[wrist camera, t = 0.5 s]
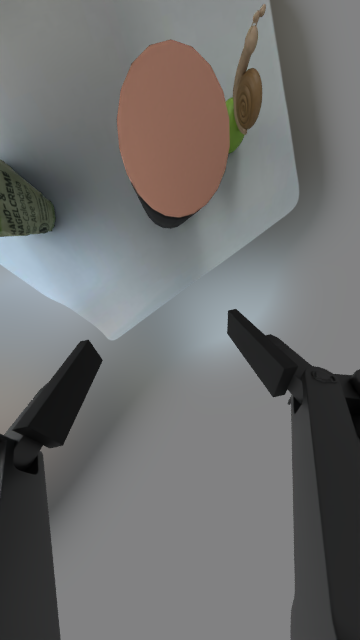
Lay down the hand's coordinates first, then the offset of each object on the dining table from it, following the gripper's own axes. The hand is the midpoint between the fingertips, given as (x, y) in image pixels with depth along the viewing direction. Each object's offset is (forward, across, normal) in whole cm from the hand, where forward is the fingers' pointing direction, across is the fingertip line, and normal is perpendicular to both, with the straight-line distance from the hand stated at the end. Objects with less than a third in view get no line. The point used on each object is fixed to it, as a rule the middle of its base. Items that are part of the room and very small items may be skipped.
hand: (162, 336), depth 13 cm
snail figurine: (+27, +17, +22) cm, 39 cm away
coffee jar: (+27, +5, +15) cm, 31 cm away
